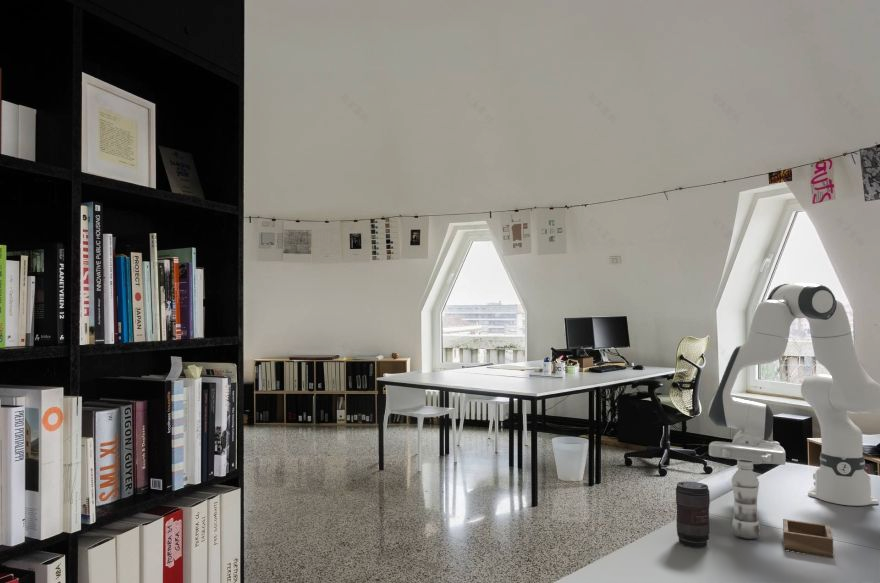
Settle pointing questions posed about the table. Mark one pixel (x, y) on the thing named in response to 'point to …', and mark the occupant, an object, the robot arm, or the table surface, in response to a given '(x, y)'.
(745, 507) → the plastic bottle
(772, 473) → the table surface
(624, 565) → the table surface
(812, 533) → the open wooden box
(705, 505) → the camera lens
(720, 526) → the table surface
